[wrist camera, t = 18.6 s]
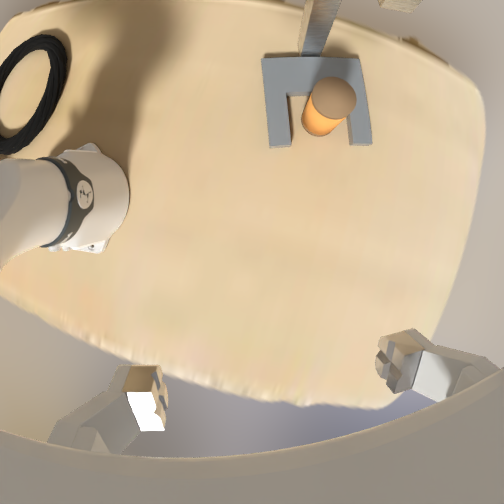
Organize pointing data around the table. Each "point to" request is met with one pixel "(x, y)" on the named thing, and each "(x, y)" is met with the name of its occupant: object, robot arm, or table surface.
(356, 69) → the grey u-shaped bracket
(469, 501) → the robot arm
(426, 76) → the table surface
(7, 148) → the cable lock
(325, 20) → the hook stand
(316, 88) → the orange brown canister
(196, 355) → the table surface
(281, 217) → the table surface
